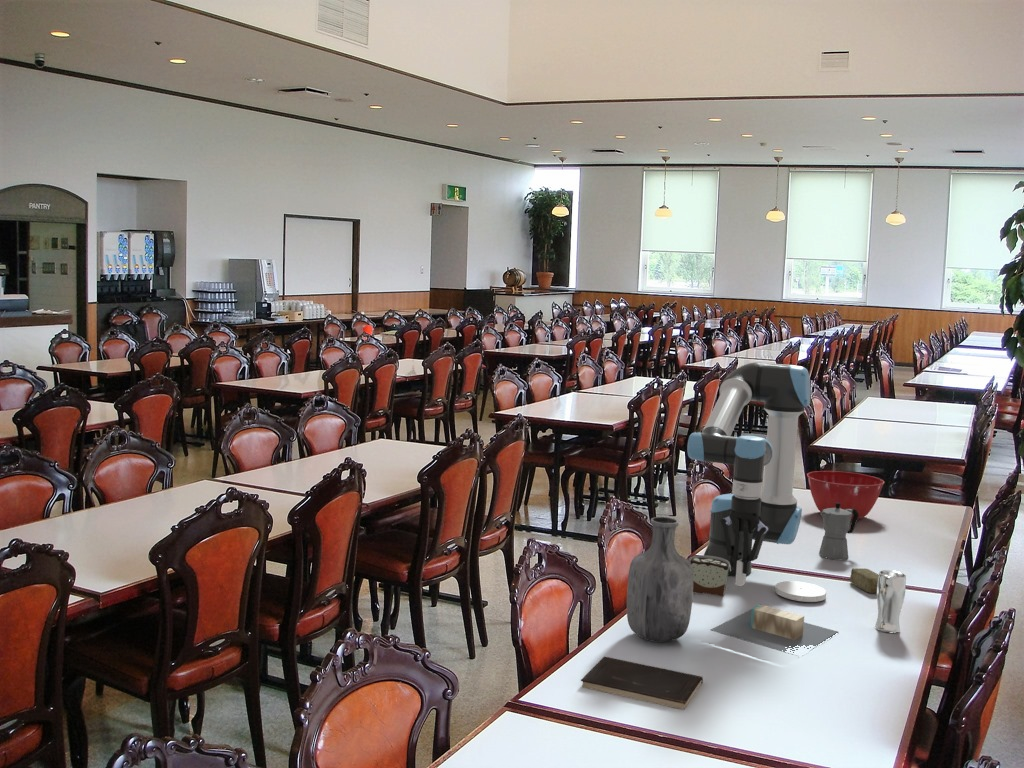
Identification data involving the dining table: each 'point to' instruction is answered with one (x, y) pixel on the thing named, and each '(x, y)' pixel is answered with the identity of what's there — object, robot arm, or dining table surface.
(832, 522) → the coffeepot
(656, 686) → the hardcover book
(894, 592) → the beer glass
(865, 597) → the dining table surface
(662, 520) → the vase
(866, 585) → the stone block
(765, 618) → the maple block
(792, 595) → the plastic lid
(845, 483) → the mixing bowl
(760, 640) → the mat
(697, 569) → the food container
